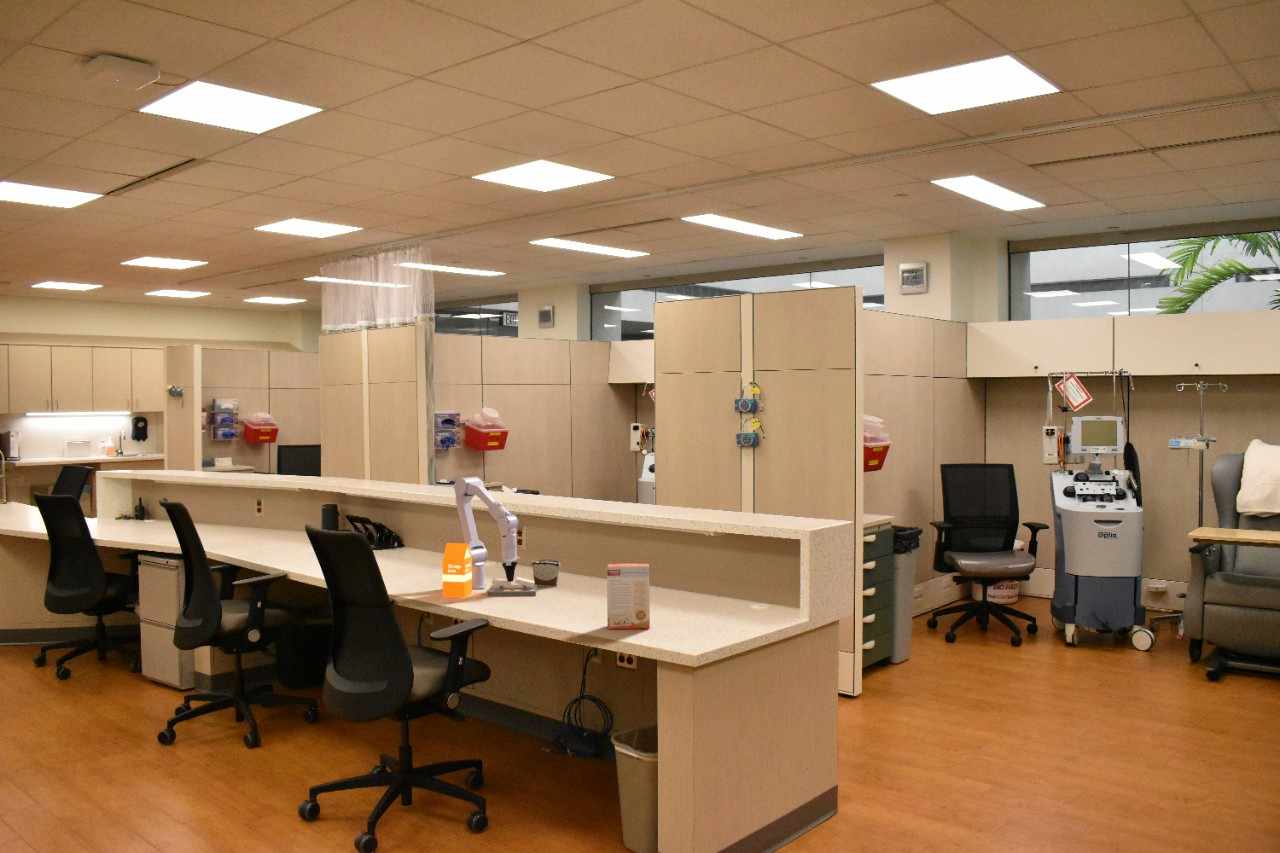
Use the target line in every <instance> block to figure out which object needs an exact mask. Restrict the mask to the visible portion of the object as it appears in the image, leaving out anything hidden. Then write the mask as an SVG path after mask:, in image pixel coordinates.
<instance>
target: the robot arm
mask: <svg viewBox="0 0 1280 853" xmlns="http://www.w3.org/2000/svg"><path fill="white" fill-rule="evenodd" d="M484 483H485V482H483V481H482V480H481V478H480V477H479V476H470V477H469V476H468V477H459V478H457V479H456V481H455V483H454V484H453V488H454V494H455V504H456V510H457V514H458V517H459V521H460V525H461V526H460V528H461V532H462V536H463V540H464V544H468V546H469V550H470V553H471V556H472V590H475V589H476V590H477V589H479V590H481V589H482V590H483V589H485V587H486V585H487V584H486V583H485V564H486V562H487V561H488V559H489V553H488V552H489V551H488V550H487V548H486V546H485V543H484V542H483V541H481V540H480V539H479V535H478V530H477V526H476V522H475V518H474V514H473V509H472V508H473V507H472V504H471V501H472V499H473V498H474V497H475V496H476V497H477V498H479V499H480V501H482V503H483V504H484V505H486V506H487V507H488V508H487V512H488V513H489V514H490V515H491V516H492V517H493V519H494V520H495V521H496V522H497V528H498V529H499V533H500V536H501V561H502V563H501V566H502V568H503V569H504V573H505V578H506V579H507V581H511V582H514V578H515V572H516V571H515V570H516V568H517V565H518V561H517V560H520V559H521V557H520V556H518V554H517V553H518V550H517V547H518V546H517V529H518V527H519V525H520V522H519V518H518V516H517V515H516V514H514V513H513V514H512V513H511V512H510V511H508V510H507V509H506V507H505V506H504V504H503V502H500V501H496V500H495V498H493V496H492V495H491V494H490V492H489V491H488V490H487V489H486V487H485V485H484Z"/></svg>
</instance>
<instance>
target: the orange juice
mask: <svg viewBox="0 0 1280 853" xmlns="http://www.w3.org/2000/svg"><path fill="white" fill-rule="evenodd" d="M472 590H473V589H472V556H471V553H470V550H469V546H468V544H465V543H452V542H446V545H445V549H444V552H443V558H442V597H443V598H463V599H465V598H466V597H468V596H470V595H472V593H473V591H472Z"/></svg>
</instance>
